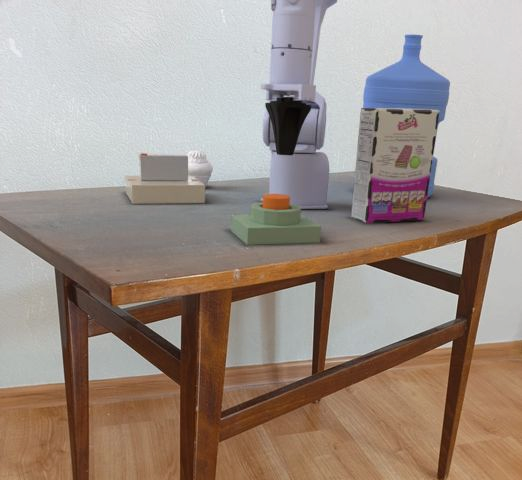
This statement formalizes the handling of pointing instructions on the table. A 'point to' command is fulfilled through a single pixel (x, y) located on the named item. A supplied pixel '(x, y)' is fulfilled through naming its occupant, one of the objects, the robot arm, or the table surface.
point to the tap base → (164, 191)
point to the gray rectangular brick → (163, 167)
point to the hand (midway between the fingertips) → (284, 155)
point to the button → (276, 201)
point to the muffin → (199, 166)
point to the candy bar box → (393, 164)
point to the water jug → (409, 88)
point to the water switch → (275, 226)
